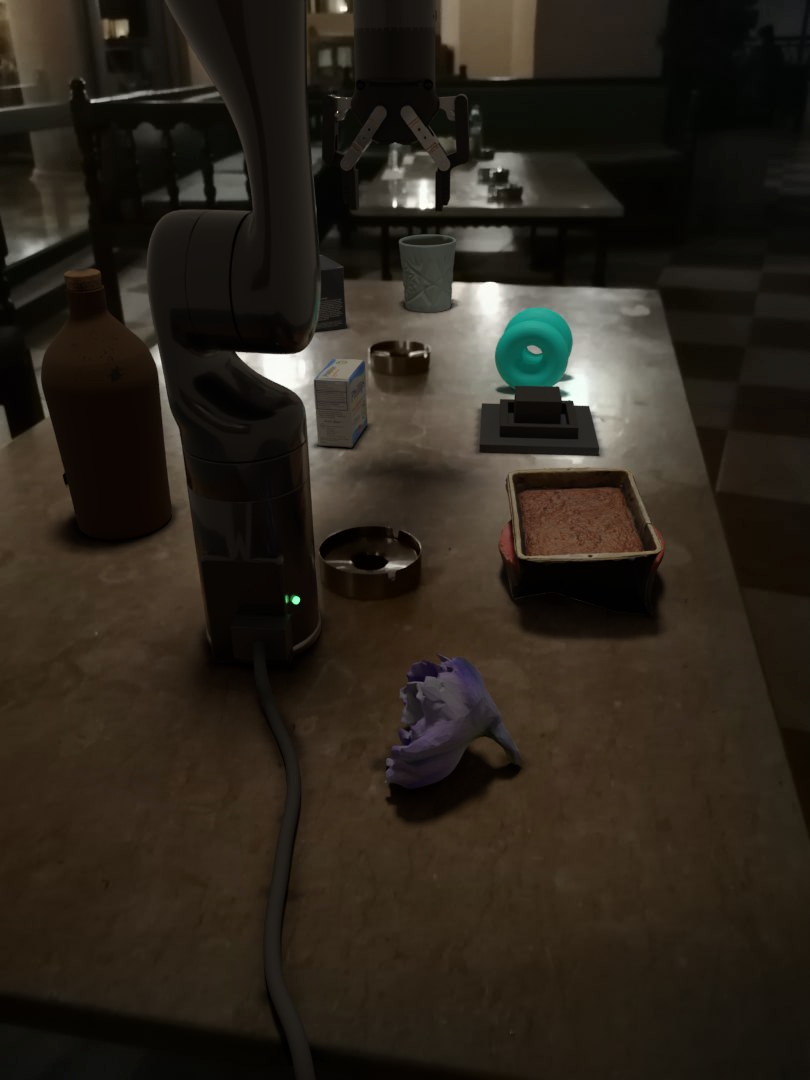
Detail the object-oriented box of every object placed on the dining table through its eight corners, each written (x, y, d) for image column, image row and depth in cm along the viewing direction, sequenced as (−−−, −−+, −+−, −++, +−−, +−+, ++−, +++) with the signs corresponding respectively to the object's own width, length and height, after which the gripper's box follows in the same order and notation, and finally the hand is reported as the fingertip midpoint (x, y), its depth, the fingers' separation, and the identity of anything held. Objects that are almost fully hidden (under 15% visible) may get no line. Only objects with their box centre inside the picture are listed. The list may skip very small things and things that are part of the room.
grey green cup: (464, 304, 168) (465, 237, 163) (437, 316, 161) (437, 247, 155) (418, 297, 173) (417, 232, 167) (389, 309, 166) (388, 241, 160)
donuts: (492, 393, 126) (494, 321, 121) (502, 370, 134) (505, 303, 129) (564, 398, 124) (570, 326, 119) (570, 375, 132) (576, 306, 127)
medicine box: (352, 449, 109) (349, 379, 105) (317, 446, 110) (312, 377, 106) (368, 425, 116) (366, 359, 112) (334, 422, 116) (331, 357, 112)
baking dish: (489, 637, 78) (502, 546, 72) (499, 515, 92) (511, 430, 85) (658, 658, 77) (687, 568, 70) (642, 531, 91) (665, 447, 84)
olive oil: (199, 507, 96) (166, 264, 84) (133, 552, 87) (87, 290, 75) (119, 489, 99) (77, 256, 87) (48, 531, 91) (-8, 279, 79)
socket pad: (598, 455, 107) (600, 435, 105) (479, 452, 108) (480, 432, 107) (588, 412, 119) (590, 394, 118) (481, 410, 120) (482, 392, 119)
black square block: (559, 433, 110) (562, 401, 108) (514, 431, 111) (515, 400, 109) (557, 416, 115) (559, 386, 113) (513, 415, 115) (515, 385, 113)
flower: (545, 646, 62) (417, 612, 58) (562, 766, 56) (424, 737, 53) (473, 703, 68) (353, 676, 64) (483, 815, 63) (353, 793, 59)
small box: (292, 317, 161) (287, 257, 156) (326, 313, 164) (323, 253, 159) (312, 332, 153) (308, 269, 148) (348, 328, 155) (345, 265, 150)
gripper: (310, 24, 80) (320, 216, 88) (471, 22, 79) (466, 217, 87) (324, 25, 87) (332, 204, 95) (473, 23, 85) (469, 205, 93)
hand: (396, 210), depth 91 cm, fingers open, 8 cm apart
